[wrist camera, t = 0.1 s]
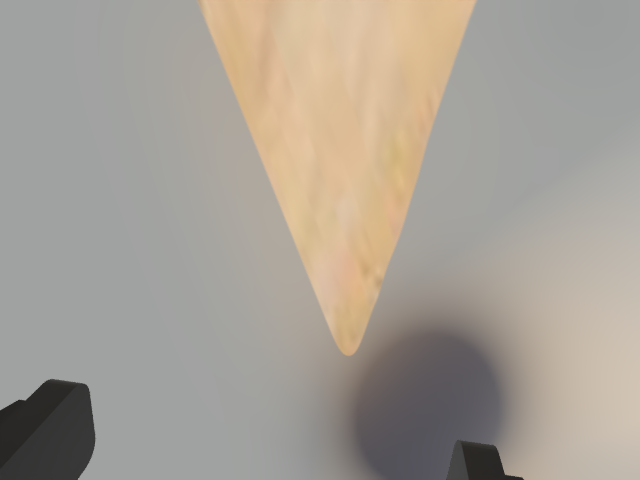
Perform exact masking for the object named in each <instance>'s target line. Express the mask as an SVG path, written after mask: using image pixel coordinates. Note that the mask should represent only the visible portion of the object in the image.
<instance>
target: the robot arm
mask: <svg viewBox="0 0 640 480" xmlns="http://www.w3.org/2000/svg"><path fill="white" fill-rule="evenodd" d="M94 446H95V431H94V423H93V415H92V407H91V399H90V392H89V388H88V386H87V385H85V384H82V383H76V382H69V381H62V380H55V379H50V380H48V381H46V382H45V383H43V384H42V385H41V386H40V387H39V388H38V389H37V390H36V391H35V392H34V393H33V394H32V395H31V396H30V397H29V398H28V399H27V400H26V401H24V400H18V401H16V402H14V403H13V404H11V405H9V406H7V407H5V408H4V409H2V410H0V480H78V478H79V477H80V475H81V474H82V473H83V471H84V470H85V468H86V467H87V465H88V463H89V461H90V459H91V456H92V454H93V450H94ZM446 480H524V479H523V478H521V477H515V476H508V475H505V474H504V470H503V467H502V463H501V460H500V456H499V453H498V450H497V448H496V447H495V446H494V445H487V444H481V443H474V442H467V441H460V440H457V441H456V443H455V446H454V450H453V454H452V458H451V462H450V467H449V471H448V475H447V479H446Z"/></svg>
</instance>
